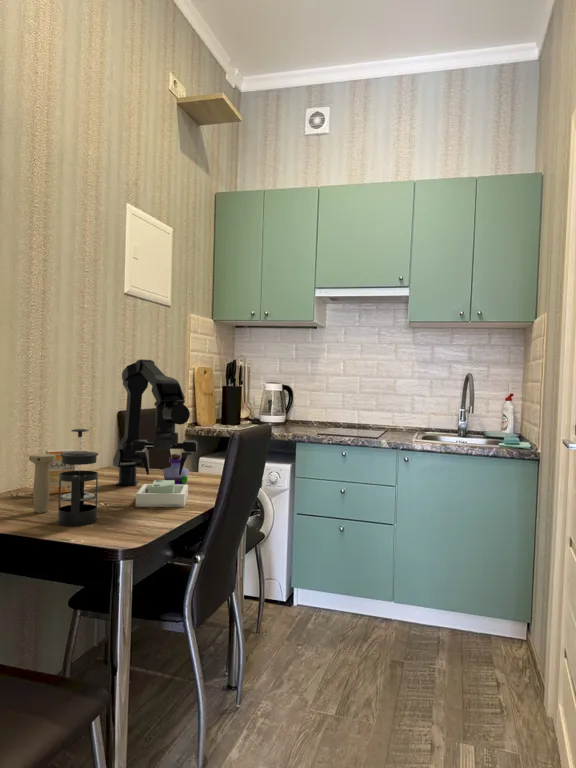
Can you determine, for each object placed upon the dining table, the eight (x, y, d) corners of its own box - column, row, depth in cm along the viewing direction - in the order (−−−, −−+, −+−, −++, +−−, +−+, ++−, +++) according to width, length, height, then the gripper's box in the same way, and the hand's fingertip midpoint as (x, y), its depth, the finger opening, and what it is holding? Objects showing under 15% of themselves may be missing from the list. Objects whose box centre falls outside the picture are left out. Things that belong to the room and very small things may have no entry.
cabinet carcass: (143, 495, 169) (143, 484, 169) (187, 496, 170) (188, 484, 170) (135, 506, 155) (135, 493, 155) (183, 506, 156) (184, 494, 156)
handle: (49, 514, 143) (51, 456, 143) (24, 514, 143) (26, 456, 143) (56, 510, 148) (58, 454, 148) (32, 509, 148) (33, 453, 148)
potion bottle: (184, 494, 173) (186, 456, 173) (157, 493, 174) (159, 455, 174) (191, 489, 182) (192, 452, 182) (165, 488, 182) (166, 451, 182)
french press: (60, 516, 141) (63, 427, 141) (99, 515, 144) (101, 427, 144) (53, 528, 130) (55, 431, 130) (95, 527, 132) (97, 431, 132)
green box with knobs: (154, 495, 167) (154, 479, 167) (174, 495, 168) (174, 479, 168) (151, 502, 157) (151, 486, 157) (172, 502, 158) (172, 486, 158)
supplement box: (46, 494, 167) (47, 451, 167) (43, 491, 171) (45, 449, 171) (75, 492, 171) (76, 450, 171) (71, 489, 175) (73, 448, 175)
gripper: (127, 423, 153) (126, 479, 153) (195, 424, 155) (194, 480, 155) (134, 420, 164) (133, 472, 164) (198, 421, 166) (196, 473, 166)
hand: (164, 475), depth 162 cm, fingers open, 9 cm apart
